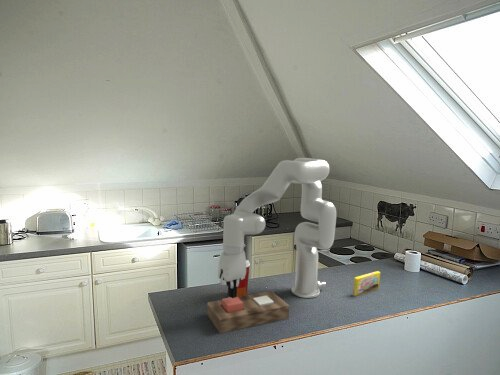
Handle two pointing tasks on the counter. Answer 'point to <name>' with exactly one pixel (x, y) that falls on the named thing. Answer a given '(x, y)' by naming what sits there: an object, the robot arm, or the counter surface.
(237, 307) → the red key
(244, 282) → the coffee cup
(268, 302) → the white key
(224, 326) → the panel
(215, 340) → the counter surface
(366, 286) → the candy box
